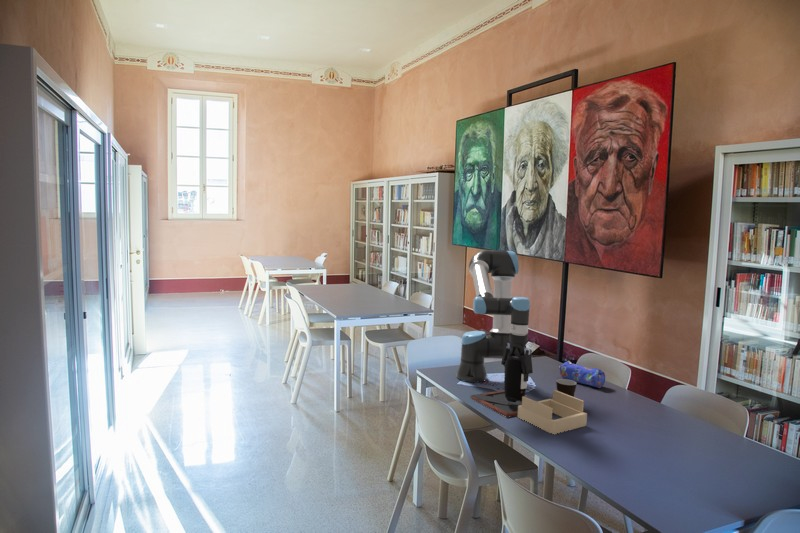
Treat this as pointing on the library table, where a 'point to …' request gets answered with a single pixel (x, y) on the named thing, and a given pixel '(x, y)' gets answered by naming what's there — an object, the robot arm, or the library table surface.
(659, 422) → the library table surface
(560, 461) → the library table surface
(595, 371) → the pencil case
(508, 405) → the picture frame
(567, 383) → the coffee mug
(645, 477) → the library table surface
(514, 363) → the portable speaker
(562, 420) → the carton
